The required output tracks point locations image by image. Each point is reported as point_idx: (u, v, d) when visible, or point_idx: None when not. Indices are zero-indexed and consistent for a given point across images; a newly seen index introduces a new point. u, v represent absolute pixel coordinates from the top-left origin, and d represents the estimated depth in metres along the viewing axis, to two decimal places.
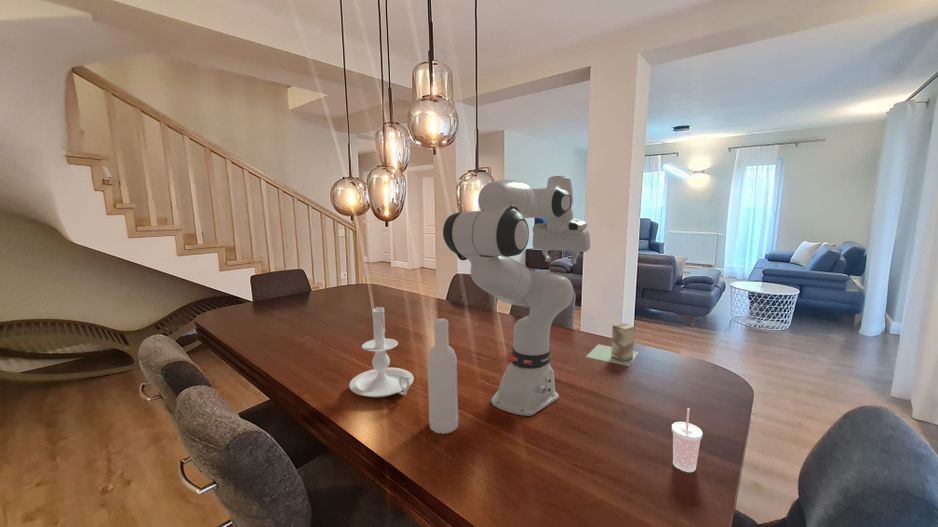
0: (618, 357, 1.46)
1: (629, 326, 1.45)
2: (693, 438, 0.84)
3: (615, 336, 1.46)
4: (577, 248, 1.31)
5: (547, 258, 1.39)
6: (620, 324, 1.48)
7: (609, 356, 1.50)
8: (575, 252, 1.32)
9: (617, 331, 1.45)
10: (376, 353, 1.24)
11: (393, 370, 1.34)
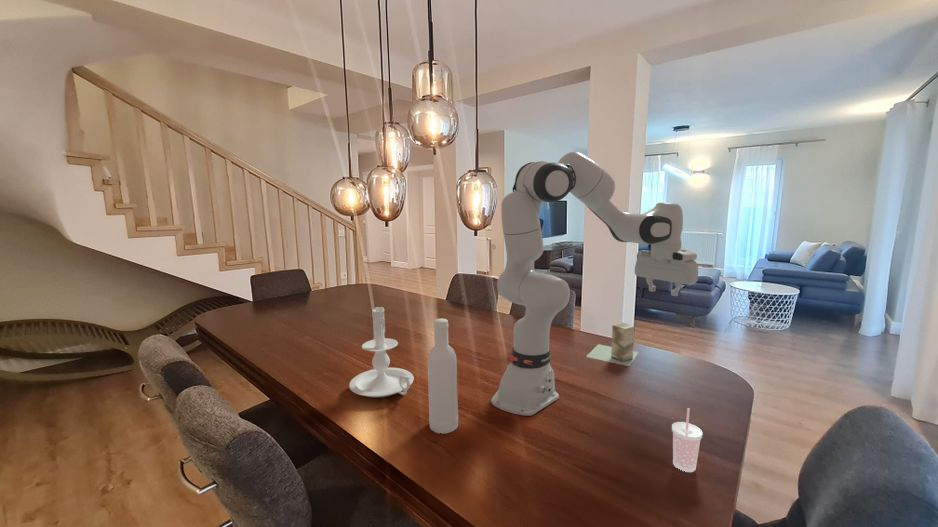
0: (618, 357, 1.46)
1: (629, 326, 1.45)
2: (693, 438, 0.84)
3: (615, 336, 1.46)
4: (681, 280, 1.22)
5: (651, 287, 1.32)
6: (620, 324, 1.48)
7: (609, 356, 1.50)
8: (676, 284, 1.24)
9: (617, 331, 1.45)
10: (376, 353, 1.24)
11: (393, 370, 1.34)
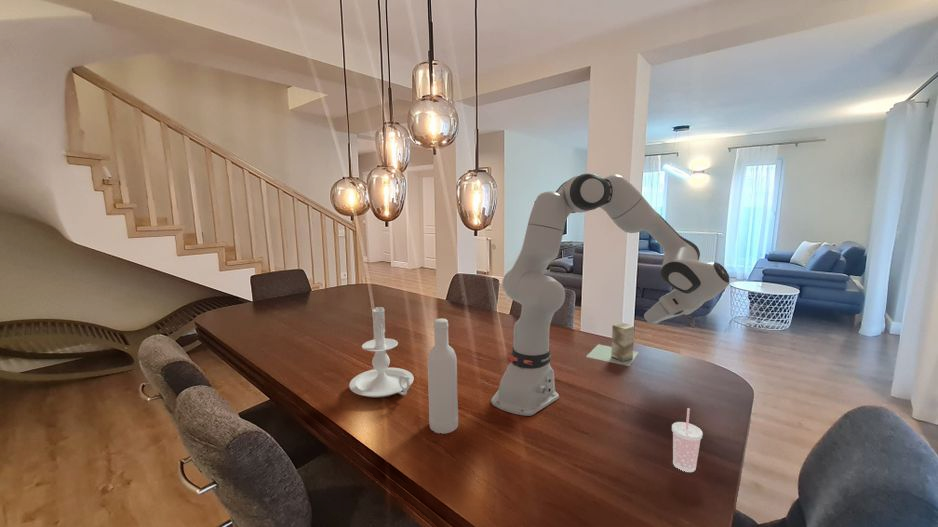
0: (618, 357, 1.46)
1: (629, 326, 1.45)
2: (693, 438, 0.84)
3: (615, 336, 1.46)
4: None
5: None
6: (620, 324, 1.48)
7: (609, 356, 1.50)
8: None
9: (617, 331, 1.45)
10: (376, 353, 1.24)
11: (393, 370, 1.34)
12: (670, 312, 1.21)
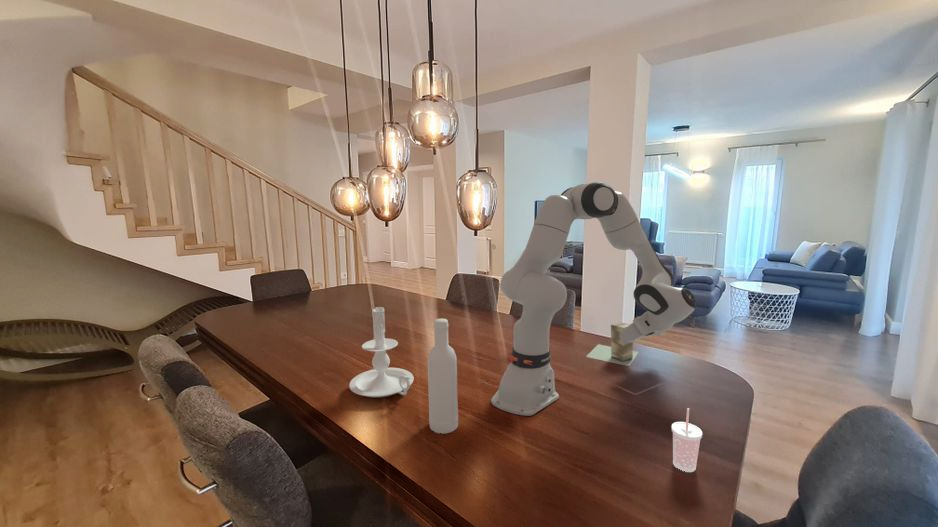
0: (618, 356, 1.46)
1: (627, 325, 1.46)
2: (693, 438, 0.84)
3: (614, 335, 1.47)
4: None
5: None
6: (618, 323, 1.48)
7: (609, 356, 1.50)
8: None
9: (616, 330, 1.46)
10: (376, 353, 1.24)
11: (393, 370, 1.34)
12: (642, 333, 1.30)
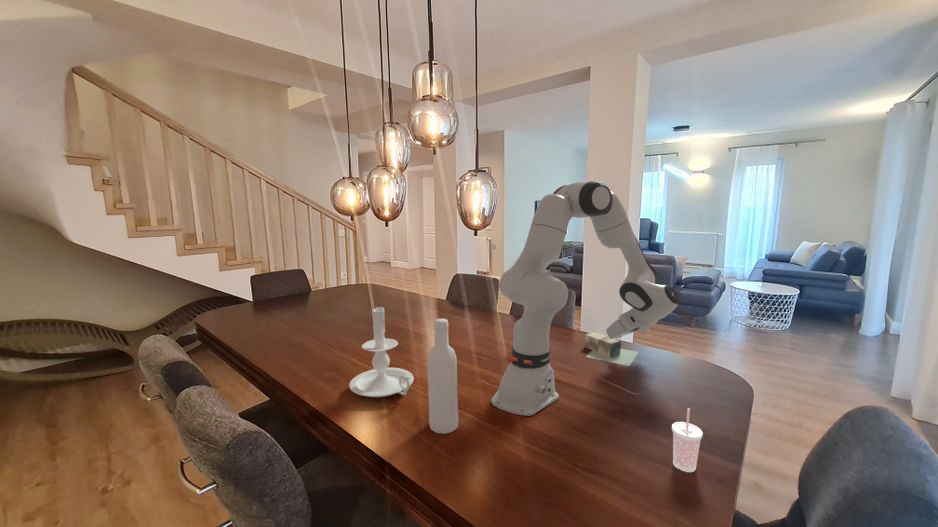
0: (609, 348, 1.50)
1: None
2: (693, 438, 0.84)
3: (592, 346, 1.56)
4: None
5: None
6: None
7: None
8: None
9: (588, 343, 1.58)
10: (376, 353, 1.24)
11: (393, 370, 1.34)
12: (627, 329, 1.35)
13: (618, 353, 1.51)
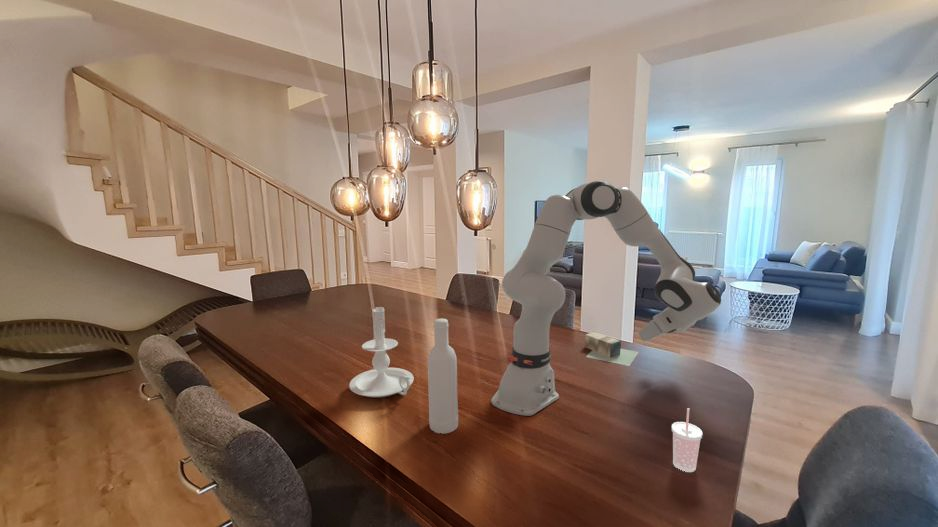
0: (609, 348, 1.50)
1: None
2: (693, 439, 0.84)
3: (592, 346, 1.56)
4: None
5: None
6: None
7: None
8: None
9: (588, 343, 1.58)
10: (376, 353, 1.24)
11: (393, 370, 1.34)
12: (663, 331, 1.24)
13: (618, 353, 1.51)
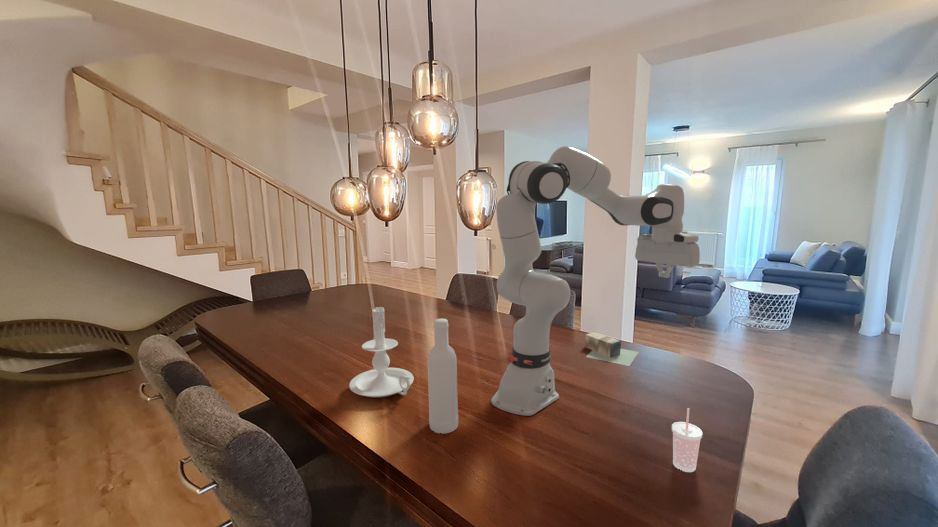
0: (609, 348, 1.50)
1: None
2: (693, 438, 0.84)
3: (592, 346, 1.56)
4: (682, 262, 1.20)
5: (661, 273, 1.27)
6: None
7: None
8: (668, 265, 1.25)
9: (588, 343, 1.58)
10: (376, 353, 1.24)
11: (393, 370, 1.34)
12: (697, 239, 1.20)
13: (618, 353, 1.51)
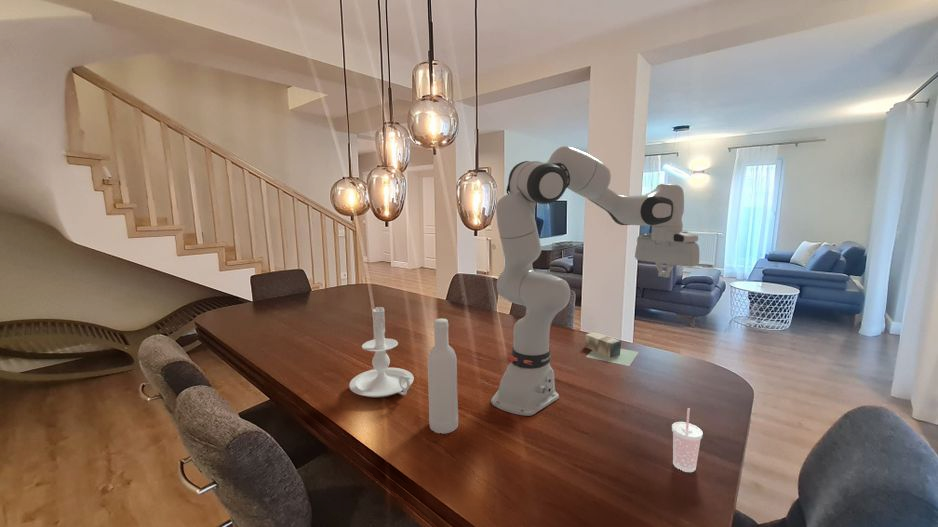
0: (609, 348, 1.50)
1: None
2: (693, 438, 0.84)
3: (592, 346, 1.56)
4: (682, 262, 1.20)
5: (660, 272, 1.27)
6: None
7: None
8: (668, 265, 1.25)
9: (588, 343, 1.58)
10: (376, 353, 1.24)
11: (393, 370, 1.34)
12: (697, 239, 1.20)
13: (618, 353, 1.51)
